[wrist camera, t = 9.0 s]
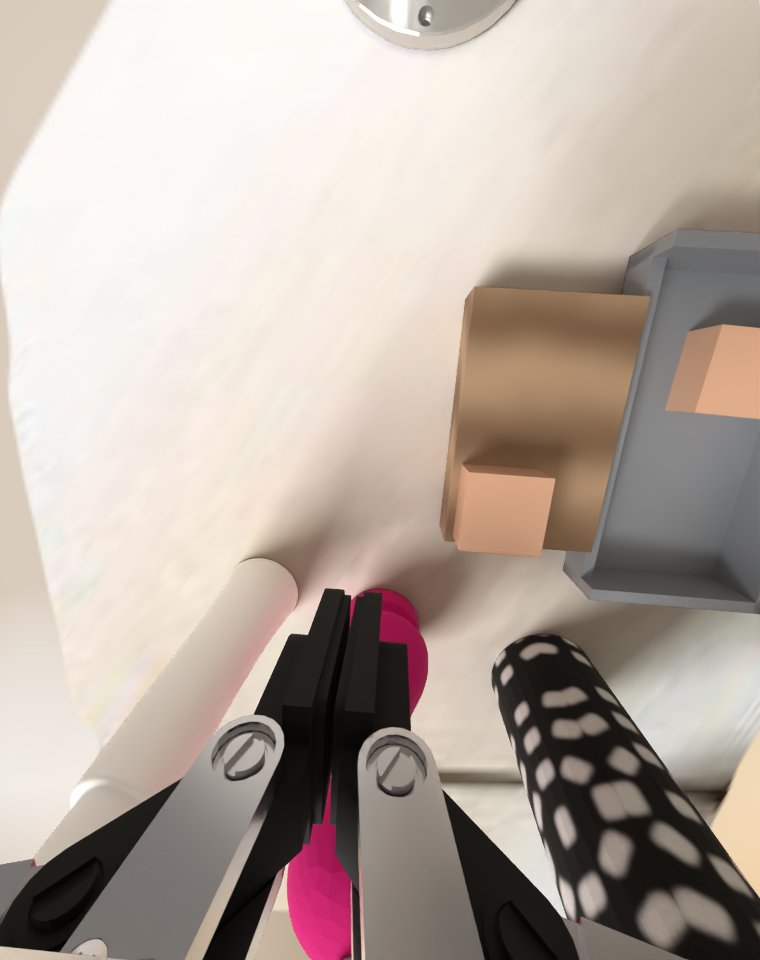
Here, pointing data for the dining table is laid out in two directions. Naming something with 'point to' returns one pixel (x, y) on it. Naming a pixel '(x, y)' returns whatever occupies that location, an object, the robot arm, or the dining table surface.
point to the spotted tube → (617, 812)
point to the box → (681, 445)
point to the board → (544, 396)
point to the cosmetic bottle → (181, 703)
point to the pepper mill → (316, 870)
